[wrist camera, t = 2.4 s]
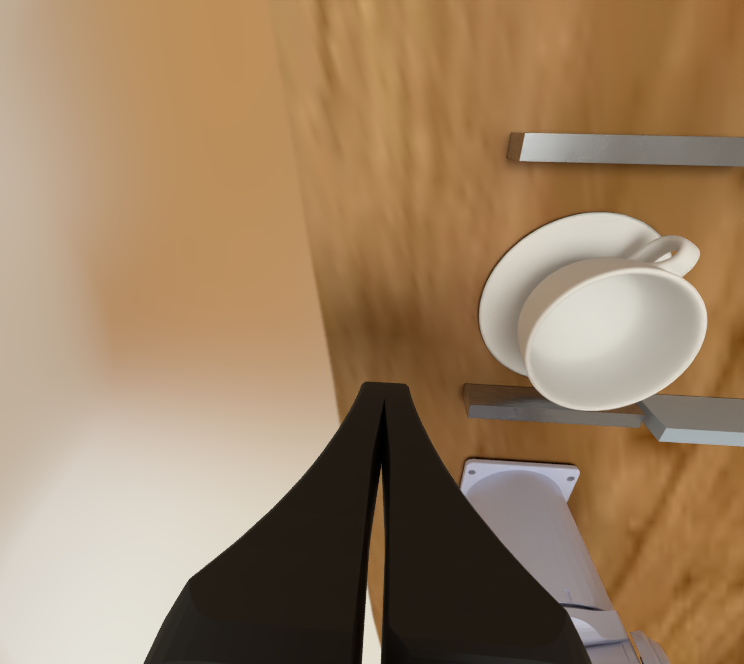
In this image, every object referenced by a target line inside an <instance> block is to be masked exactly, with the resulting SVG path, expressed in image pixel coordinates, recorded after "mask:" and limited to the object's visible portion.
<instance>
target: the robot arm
mask: <svg viewBox="0 0 744 664" xmlns="http://www.w3.org/2000/svg"><path fill="white" fill-rule="evenodd" d="M381 463H382V484H383V506H384V528H385V566H384V594H383V621H382V647H381V664H640V661H639V659H638V657H637V655H636V652H635V650H634V648H633V646H632V644H631V642H630V639H629V637H628V635H627V633H626V631H625V629H624V627H623V624H622V622H621V620H620V618H619V616H618V614H617V612H616V611H615V610H614V608H613V606H612V604H611V602H610V599H609V597H608V595H607V593H606V590H605V588H604V586H603V584H602V582H601V579H600V577H599V575H598V573H597V570H596V568H595V566H594V564H593V561H592V559H591V557H590V555H589V552H588V550H587V548H586V546H585V544H584V541H583V539H582V537H581V535H580V532H579V530H578V528H577V526H576V523H575V521H574V519H573V517H572V514H571V512H570V510H569V508H568V505H567V501H568V499H569V497H570V494H571V492H572V490H573V488H574V486H575V483H576V481H577V479H578V477H579V475H580V471H579V470H578V468H577V467H576V466H573V465H559V464H543V463H528V462H513V461H497V460H482V459H469V460H467V461H466V463H465V466H464V471H463V476H462V480H461V485H460V488H459V487H458V485H457V484H456V482H455V481H454V479H453V478H452V476H451V475H450V473H449V472H448V470H447V469H446V467H445V465H444V464H443V462H442V460H441V459H440V457H439V455H438V453H437V452H436V450H435V448H434V446H433V445H432V443H431V441H430V439H429V437H428V435H427V433H426V431H425V429H424V427H423V425H422V423H421V420H420V418H419V416H418V413H417V411H416V409H415V406H414V403H413V401H412V398H411V394H410V391H409V387H408V386H407V385H406V384H400V383H382V382H364V383H363V384H362V385H361V388H360V391H359V393H358V395H357V398H356V400H355V402H354V404H353V405H352V407H351V409H350V411H349V413H348V414H347V416H346V418H345V419H344V421H343V423H342V424H341V426H340V427H339V429H338V431H337V432H336V434H335V435H334V436H333V438H332V439H331V441H330V442H329V443H328V445H327V446H326V448H325V449H324V451H323V452H322V453H321V455H320V456H319V457H318V458H317V460H316V461H315V462H314V464H313V465H312V466H311V467H310V468H309V469H308V471H307V472H306V473H305V474H304V475H303V477H302V478H301V479H300V480H299V481H298V482H297V483H296V484H295V485H294V487H292V489H291V490H290V491H289V492H288V493H287V494H286V495H285V496H284V497H283V498H282V499H281V500H280V501H279V502H278V503H277V504H276V505H275V506H274V507H273V508H272V509H271V510H270V511H269V512H268V513H267V514H266V515H265V516H264V517H263V518H261V519H260V520H259V521H258V522H257V523H256V524H255V525H254V526H253V527H252V528H251V529H249V530H248V531H247V532H246V533H245V534H244V535H243V536H242V537H241V538H239V539H238V540H237V541H236V542H235V543H234V544H232V545H231V546H230V547H229V548H227V549H226V550H225V551H224V552H223V553H221V554H220V555H219V556H218V557H216V558H215V559H214V560H213V561H211V562H210V563H209V564H208V565H206V566H205V567H204V568H203V569H201V570H200V571H199V572H198V573H196V574H195V575H194V576H192V577H191V578H190V579H189V580H188V582H187V583H186V585H185V587H184V588H183V590H182V591H181V593H180V595H179V596H178V598H177V600H176V601H175V603H174V605H173V607H172V608H171V610H170V611H169V613H168V615H167V616H166V618H165V620H164V622H163V624H162V626H161V628H160V630H159V632H158V634H157V636H156V638H155V640H154V643H153V645H152V647H151V649H150V651H149V653H148V655H147V657H146V660H145V662H144V664H362V651H363V635H364V620H365V604H366V589H367V574H368V559H369V547H370V538H371V530H372V524H373V517H374V510H375V504H376V497H377V490H378V484H379V477H380V470H381ZM630 634H631V636H632V638H633V640H634V642H635V644H636V647H637V649H638V651H639V653H640V655H641V657H640V659H641V662H642V664H670V662H669V660H668V658H667V656H666V655H665V653H664V651H663V649H662V648H661V646H660V645H659V644H658V643H657V642H655V641H654V640H652V639H651V638H649V637H646V635H645V634H644V633H643V632H642V631H641V630H637V631H634V632H630Z"/></svg>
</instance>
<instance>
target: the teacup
mask: <svg viewBox="0 0 744 664" xmlns="http://www.w3.org/2000/svg"><path fill="white" fill-rule="evenodd" d="M676 250H678V251H677V253H676V254H675V255H674V256H672V253H671V252H672V251H676ZM699 256H700V252H699V249H698V248H697V247H696V246H695V245H694V244H693V243H692V242H690V241H689V240H687V239H686V238H683V237H681V236H676V235H667V236H663V237H661V236H660V235H659V234H658V232H656V231H655V230H654V229H653V228H651V227H650V226H649V225H647V224H645V223H644V222H642V221H640V220H638V219H635V218H633V217H630V216H627V215H623V214H617V213H610V212H592V213H582V214H577V215H573V216H569V217H565V218H562V219H559V220H556V221H554V222H552V223H549V224H547V225H545V226H543V227H541V228H539V229H537V230H536V231H534V232H532V233H531V234H529V235H528V236H526V237H525V238H524V239H522V240H521V241H520V242H518V243H517V244H516V245H515V246H514V247H513V248H512V249H511V250H510V251H509V252H508V253H507V254H506V255H505V256H504V257H503V258H502V259H501V261H500V262H499V263H498V264H497V266H496V267H495V269H494V270H493V272H492V273H491V275H490V277H489V279H488V281H487V283H486V285H485V288H484V290H483V293H482V297H481V301H480V307H479V325H480V331H481V334H482V337H483V340H484V342H485V344H486V346H487V348H488V349H489V351H490V352H491V353H492V355H493V356H494V357H495V358H496V359H497V360H498V361H499V362H500V363H501V364H503V365H504V366H505V367H507V368H508V369H510V370H512V371H514V372H516V373H518V374H521V375H524V376H527V377H529V379H530V381H531V383H532V384H533V386H534V387H535V388H536V390H537V391H538V392H539V393H540V394H542V395H543V396H544V397H545V398H547V399H548V400H550V401H552V402H554V403H556V404H558V405H560V406H563V407H566V408H570V409H575V410H583V411H601V410H610V409H615V408H620V407H624V406H627V405H630V404H633V403H636V402H639V401H641V400H643V399H646V398H648V397H650V396H652V395H654V394H655V393H657V392H659V391H660V390H662V389H663V388H665V387H666V386H668V385H669V384H670V383H672V382H673V381H674V380H675V379H676V378H678V377H679V376H680V375H681V374H682V373H683V372H684V371H685V370H686V369H687V367H688V366H689V365H690V364H691V362H692V361H693V360H694V358H695V357H696V355H697V353H698V352H699V350H700V348H701V345H702V343H703V340H704V337H705V334H706V329H707V312H706V307H705V304H704V302H703V300H702V298H701V296H700V294H699V293H698V292H697V290H696V289H695V288H694V287H693V286H692V285H691V284H690V283H689V282H687V281H686V280H685V279H683V278H682V277H683V276H684V275H685V274H686V273H688V272H689V271H690V270H691V269H692V268H693V267H694V265H695V264H696V263H697V261H698V259H699Z"/></svg>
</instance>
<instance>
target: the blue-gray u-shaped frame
mask: <svg viewBox="0 0 744 664" xmlns="http://www.w3.org/2000/svg"><path fill="white" fill-rule="evenodd" d="M636 404H637V405H638V406H639V408H640V409H641V410H642V411H643V412H644V413H645V415H646V416H645V418H644V419H643V421H642V422H643V423H644V424H645V425H646V427H647V428H648V429H649V430H650V431H651V433H652V434H653V435H654V436H655V437H656V439H657V440H658V441H664V442H680V443H696V444H713V445H729V446H744V399H731V398H713V397H695V396H677V395H658V394H654V395H652V396H650V397H648V398H646V399H643V400H641V401H639V402H636Z"/></svg>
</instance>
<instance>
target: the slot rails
mask: <svg viewBox="0 0 744 664" xmlns="http://www.w3.org/2000/svg"><path fill="white" fill-rule="evenodd" d="M507 158H510V159H514V160H518V161H540V162H581V163H621V164H662V165H703V166H743V167H744V137H700V136H652V135H604V134H556V133H511V137H510V142H509V148H508V153H507ZM463 400H464V404H465V408H466V412H467V417H468V418H483V419H500V420H517V421H533V422H550V423H567V424H584V425H601V426H617V427H634V428H639V427H640V425H641V423H642V421H643V419H644V418H645V416H646V415H645V413H644V412H643V411H642V410H641V409H640V408H639V406H638V405H637V404H636V403H633V404H630V405H627V406H624V407H620V408H615V409H610V410H601V411H583V410H575V409H570V408H566V407H563V406H560V405H558V404H556V403H554V402H552V401H550V400H548V399H547V398H545V397H544V396H543V395H542V394H540V393H539V392H538V391H537V390H536V388H531V387H513V386H495V385H477V384H465V386H464V391H463Z"/></svg>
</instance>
